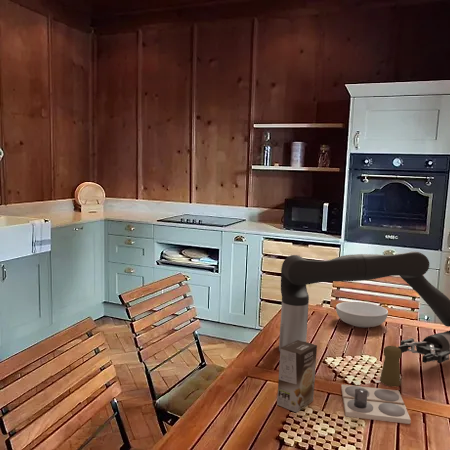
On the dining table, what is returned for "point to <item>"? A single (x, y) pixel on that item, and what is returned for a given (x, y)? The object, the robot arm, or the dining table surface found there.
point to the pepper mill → (391, 366)
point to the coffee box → (296, 375)
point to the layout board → (376, 404)
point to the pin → (360, 398)
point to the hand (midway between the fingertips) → (411, 354)
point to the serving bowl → (361, 314)
